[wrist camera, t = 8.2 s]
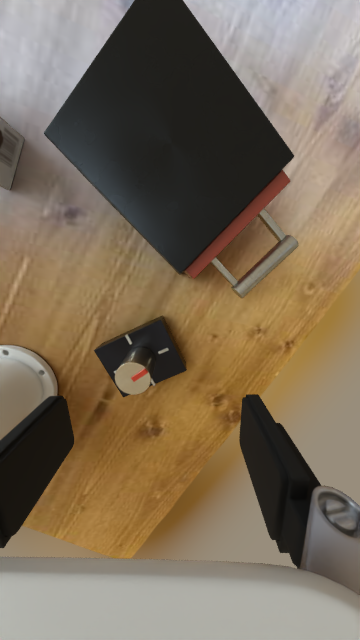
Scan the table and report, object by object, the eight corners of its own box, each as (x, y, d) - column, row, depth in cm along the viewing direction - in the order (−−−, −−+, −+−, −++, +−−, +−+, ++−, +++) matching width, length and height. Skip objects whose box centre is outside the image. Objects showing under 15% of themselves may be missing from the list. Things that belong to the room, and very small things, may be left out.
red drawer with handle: (282, 241, 23) (325, 226, 16) (215, 305, 25) (229, 315, 18) (177, 110, 20) (177, 26, 13) (109, 195, 21) (78, 159, 15)
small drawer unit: (251, 200, 22) (295, 155, 14) (179, 275, 24) (180, 274, 16) (166, 94, 20) (158, -36, 12) (94, 187, 22) (43, 133, 14)
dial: (138, 379, 25) (129, 402, 21) (120, 357, 24) (106, 376, 20) (161, 364, 25) (157, 384, 20) (143, 341, 24) (135, 357, 19)
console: (128, 387, 28) (123, 398, 26) (101, 343, 27) (92, 350, 24) (186, 362, 27) (187, 371, 25) (162, 314, 26) (160, 319, 23)
